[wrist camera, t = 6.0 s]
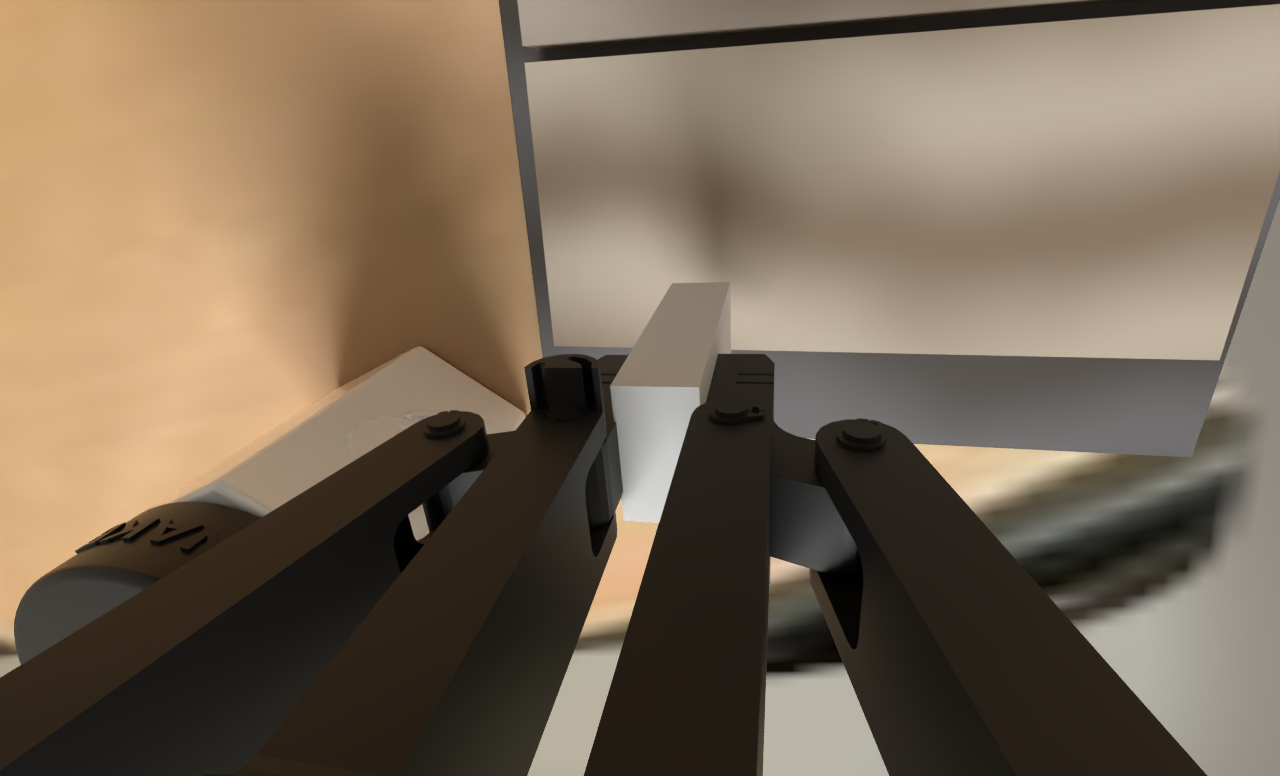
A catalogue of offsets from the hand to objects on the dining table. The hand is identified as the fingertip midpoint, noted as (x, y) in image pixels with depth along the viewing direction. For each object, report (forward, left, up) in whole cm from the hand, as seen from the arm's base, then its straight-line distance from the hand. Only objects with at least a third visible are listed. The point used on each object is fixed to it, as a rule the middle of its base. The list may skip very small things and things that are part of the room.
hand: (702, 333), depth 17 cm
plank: (-3, +4, -3) cm, 6 cm away
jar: (+6, -11, -4) cm, 13 cm away
